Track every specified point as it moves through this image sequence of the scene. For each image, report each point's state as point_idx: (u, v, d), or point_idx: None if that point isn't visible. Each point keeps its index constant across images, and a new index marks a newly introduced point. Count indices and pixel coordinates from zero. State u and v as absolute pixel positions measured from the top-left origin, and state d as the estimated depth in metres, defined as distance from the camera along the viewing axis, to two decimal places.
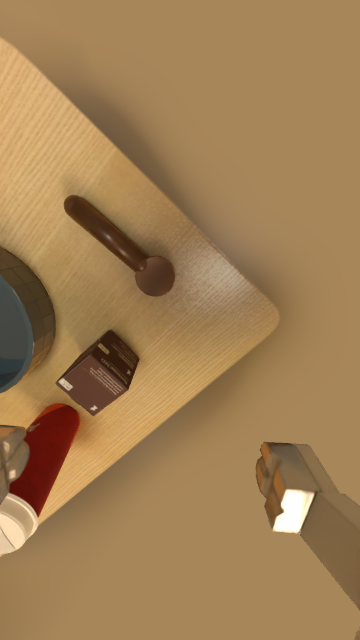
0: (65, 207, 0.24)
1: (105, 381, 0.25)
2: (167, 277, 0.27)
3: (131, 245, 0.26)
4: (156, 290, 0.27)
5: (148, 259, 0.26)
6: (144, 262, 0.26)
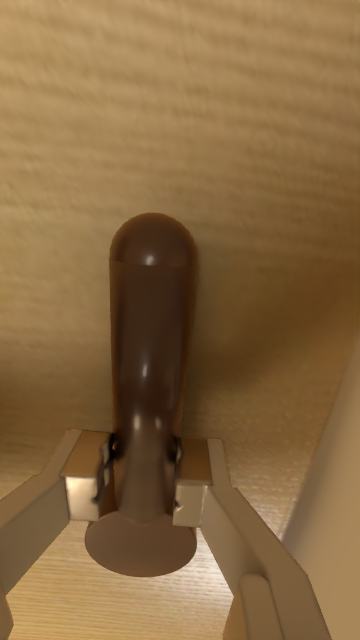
0: (126, 240, 0.05)
1: None
2: (162, 563, 0.10)
3: (171, 469, 0.08)
4: (114, 560, 0.10)
5: (170, 517, 0.09)
6: (155, 520, 0.09)
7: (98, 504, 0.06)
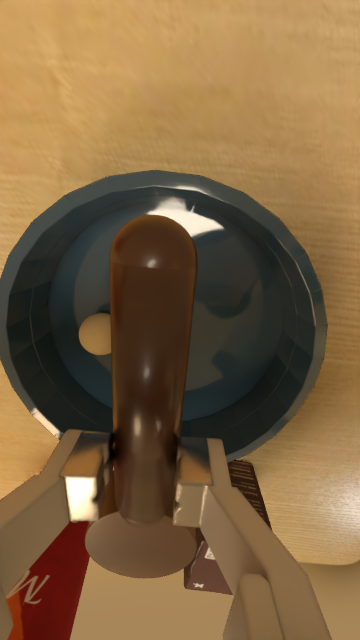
0: (125, 242, 0.05)
1: None
2: (162, 564, 0.10)
3: (171, 470, 0.08)
4: (113, 561, 0.10)
5: (169, 519, 0.09)
6: (155, 522, 0.09)
7: (98, 504, 0.06)
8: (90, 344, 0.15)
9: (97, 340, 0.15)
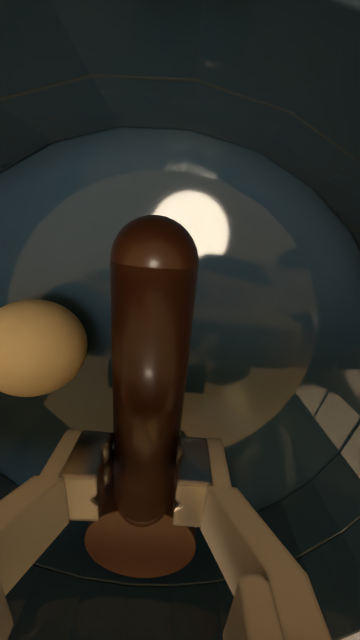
0: (126, 242, 0.05)
1: None
2: (162, 564, 0.10)
3: (171, 470, 0.08)
4: (113, 561, 0.10)
5: (169, 519, 0.09)
6: (155, 521, 0.09)
7: (98, 504, 0.06)
8: None
9: (13, 372, 0.06)
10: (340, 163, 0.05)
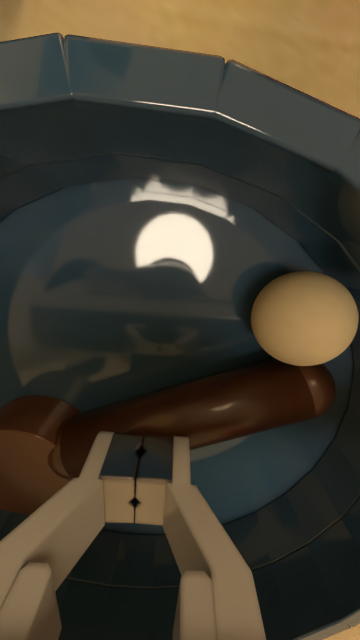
0: (323, 383, 0.07)
1: None
2: (7, 498, 0.09)
3: None
4: None
5: None
6: None
7: (134, 506, 0.06)
8: None
9: None
10: (160, 576, 0.12)
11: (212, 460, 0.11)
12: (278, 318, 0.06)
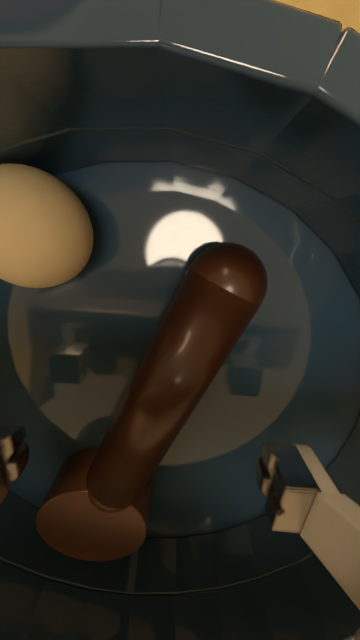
0: (221, 264, 0.06)
1: None
2: (104, 550, 0.10)
3: (155, 467, 0.09)
4: (58, 537, 0.10)
5: (132, 510, 0.09)
6: (120, 510, 0.09)
7: None
8: None
9: (14, 165, 0.05)
10: (301, 546, 0.10)
11: (254, 409, 0.10)
12: None
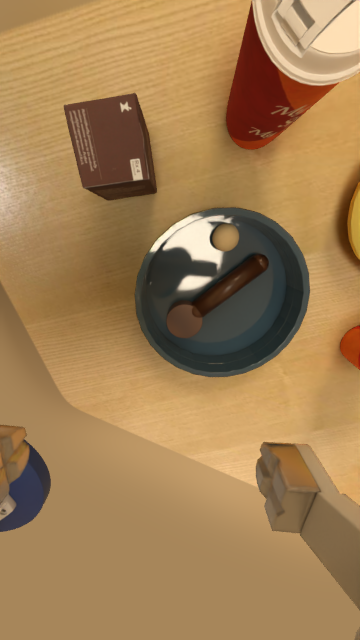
0: (261, 258, 0.26)
1: (86, 141, 0.19)
2: (182, 332, 0.30)
3: (215, 307, 0.29)
4: (172, 320, 0.29)
5: (201, 319, 0.29)
6: (199, 316, 0.29)
7: None
8: (231, 232, 0.25)
9: (234, 229, 0.25)
10: (240, 357, 0.31)
11: (245, 308, 0.31)
12: None
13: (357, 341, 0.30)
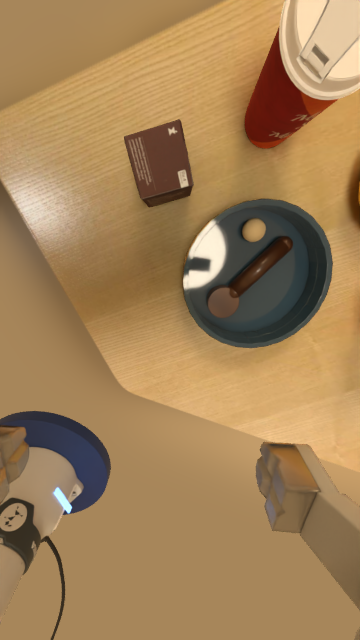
0: (286, 239, 0.31)
1: (142, 161, 0.24)
2: (222, 312, 0.34)
3: (249, 287, 0.33)
4: (212, 303, 0.34)
5: (237, 299, 0.33)
6: (236, 296, 0.33)
7: None
8: (260, 229, 0.29)
9: (262, 225, 0.29)
10: (274, 329, 0.35)
11: (274, 286, 0.35)
12: None
13: None
